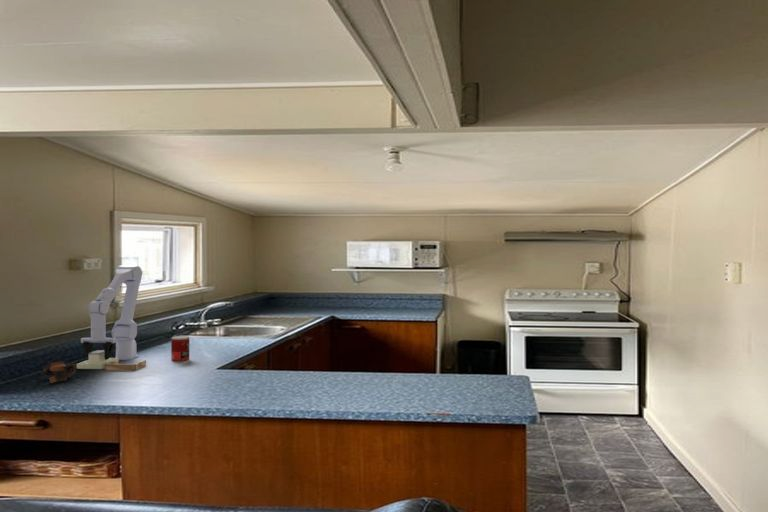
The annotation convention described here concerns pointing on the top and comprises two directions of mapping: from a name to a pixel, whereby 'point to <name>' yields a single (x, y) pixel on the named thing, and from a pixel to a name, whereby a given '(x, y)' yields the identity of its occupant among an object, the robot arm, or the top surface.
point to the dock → (124, 366)
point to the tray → (94, 366)
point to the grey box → (97, 357)
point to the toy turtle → (59, 371)
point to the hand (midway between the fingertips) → (98, 359)
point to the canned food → (180, 348)
